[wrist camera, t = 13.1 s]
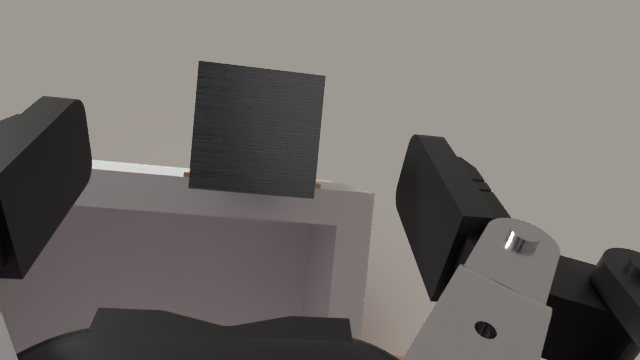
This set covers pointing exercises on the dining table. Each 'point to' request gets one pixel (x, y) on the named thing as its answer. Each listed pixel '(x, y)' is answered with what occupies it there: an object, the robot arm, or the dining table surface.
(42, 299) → the tall cream box
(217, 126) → the grey rectangular bar
